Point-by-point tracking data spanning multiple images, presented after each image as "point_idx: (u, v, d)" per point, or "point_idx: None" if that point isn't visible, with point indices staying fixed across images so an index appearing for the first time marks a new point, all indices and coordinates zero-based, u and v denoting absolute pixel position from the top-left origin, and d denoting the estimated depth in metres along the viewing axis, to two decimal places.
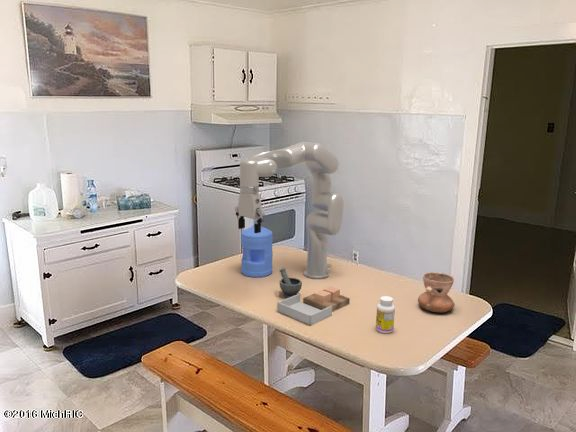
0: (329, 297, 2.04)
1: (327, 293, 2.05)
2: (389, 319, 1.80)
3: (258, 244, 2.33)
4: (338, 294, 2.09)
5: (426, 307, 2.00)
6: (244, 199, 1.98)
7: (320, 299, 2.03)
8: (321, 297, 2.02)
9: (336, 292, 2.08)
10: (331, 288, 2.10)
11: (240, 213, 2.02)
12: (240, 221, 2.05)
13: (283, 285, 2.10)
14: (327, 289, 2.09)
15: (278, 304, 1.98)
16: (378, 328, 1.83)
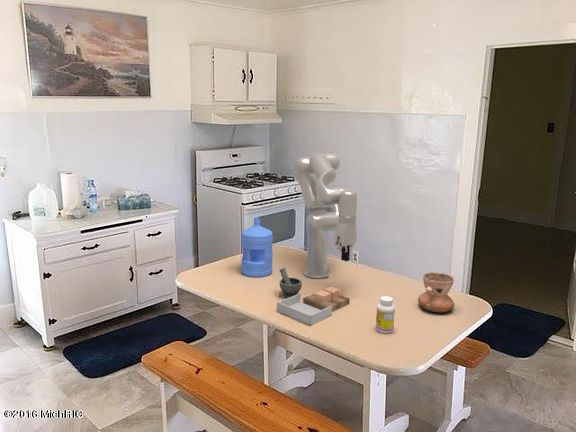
0: (329, 297, 2.04)
1: (327, 293, 2.05)
2: (389, 319, 1.80)
3: (258, 244, 2.33)
4: (338, 294, 2.09)
5: (426, 307, 2.00)
6: (351, 228, 2.07)
7: (320, 299, 2.03)
8: (321, 297, 2.02)
9: (336, 292, 2.08)
10: (331, 288, 2.10)
11: (345, 244, 2.07)
12: None
13: (283, 285, 2.10)
14: (327, 289, 2.09)
15: (278, 304, 1.98)
16: (378, 328, 1.83)
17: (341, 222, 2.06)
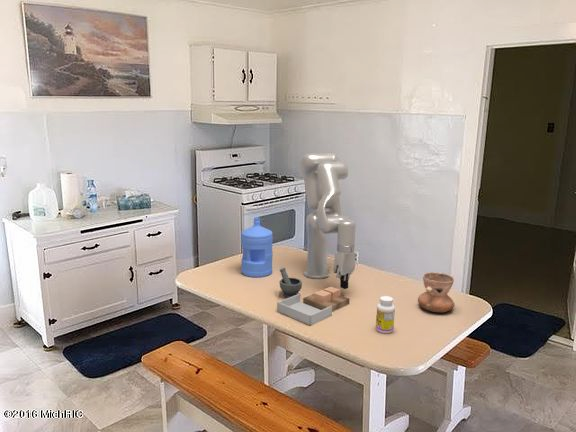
0: (329, 297, 2.04)
1: (327, 293, 2.05)
2: (389, 319, 1.80)
3: (258, 244, 2.33)
4: (338, 294, 2.09)
5: (426, 307, 2.00)
6: (349, 257, 2.10)
7: (320, 299, 2.03)
8: (321, 297, 2.02)
9: (336, 292, 2.08)
10: (331, 288, 2.10)
11: (344, 273, 2.10)
12: None
13: (283, 285, 2.10)
14: (327, 289, 2.09)
15: (278, 304, 1.98)
16: (378, 328, 1.83)
17: (340, 251, 2.09)
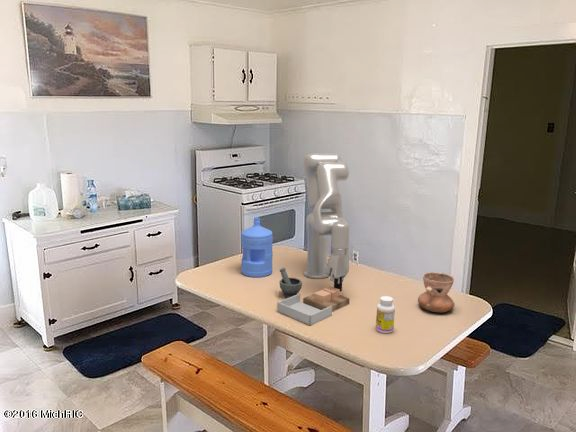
0: (329, 297, 2.04)
1: (327, 293, 2.05)
2: (389, 319, 1.80)
3: (258, 244, 2.33)
4: (338, 294, 2.09)
5: (426, 307, 2.00)
6: (343, 259, 2.07)
7: (320, 299, 2.03)
8: (321, 297, 2.02)
9: (336, 292, 2.07)
10: (331, 288, 2.10)
11: (337, 275, 2.07)
12: None
13: (283, 285, 2.10)
14: (327, 289, 2.09)
15: (278, 304, 1.98)
16: (378, 328, 1.83)
17: (333, 254, 2.06)
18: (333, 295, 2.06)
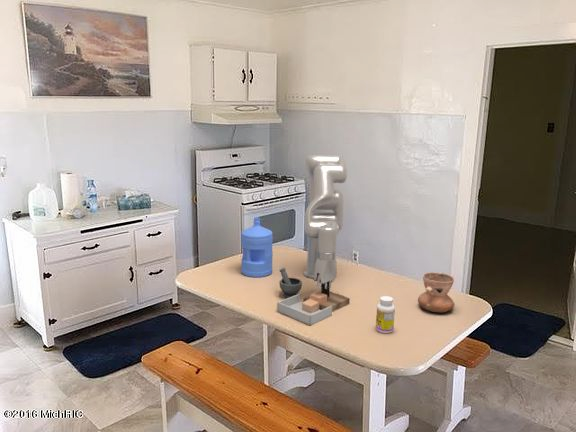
0: (317, 306, 1.99)
1: (315, 302, 1.99)
2: (389, 319, 1.80)
3: (258, 244, 2.33)
4: (325, 300, 2.03)
5: (426, 307, 2.00)
6: (330, 264, 2.01)
7: (307, 309, 1.98)
8: (309, 307, 1.97)
9: (323, 297, 2.01)
10: (318, 293, 2.04)
11: (324, 281, 2.01)
12: None
13: (283, 285, 2.10)
14: (314, 295, 2.03)
15: (278, 304, 1.98)
16: (378, 328, 1.83)
17: (320, 258, 2.00)
18: (320, 301, 2.00)
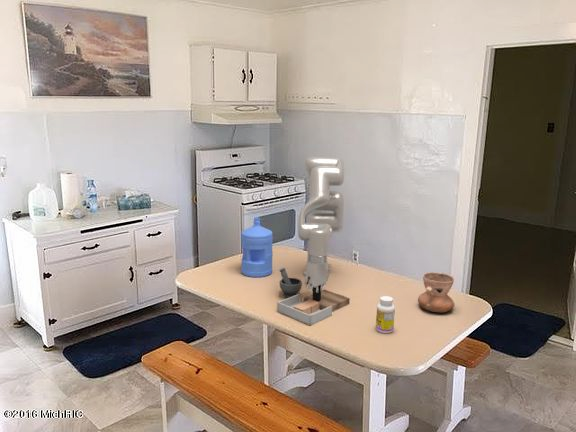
0: (309, 310, 1.96)
1: (307, 306, 1.96)
2: (389, 319, 1.80)
3: (258, 244, 2.33)
4: (317, 307, 2.00)
5: (426, 307, 2.00)
6: (322, 267, 1.97)
7: None
8: None
9: (315, 305, 1.98)
10: (310, 301, 2.01)
11: (316, 284, 1.97)
12: None
13: (283, 285, 2.10)
14: (306, 303, 1.99)
15: (278, 304, 1.98)
16: (378, 328, 1.83)
17: (311, 262, 1.96)
18: (313, 309, 1.97)
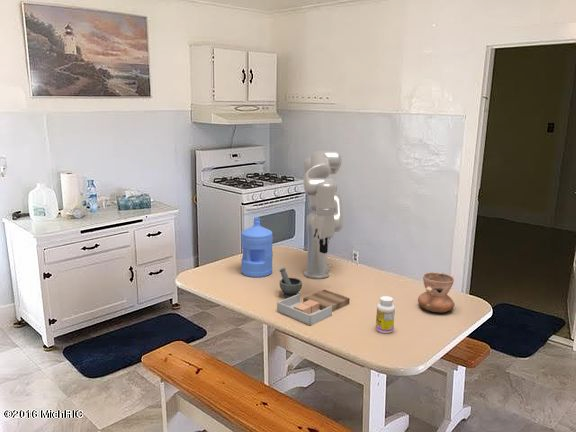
0: (309, 310, 1.96)
1: (307, 306, 1.96)
2: (389, 319, 1.80)
3: (258, 244, 2.33)
4: (317, 308, 2.00)
5: (426, 307, 2.00)
6: (329, 220, 2.04)
7: None
8: None
9: (316, 305, 1.98)
10: (310, 301, 2.01)
11: (323, 236, 2.04)
12: None
13: (283, 285, 2.10)
14: (306, 303, 2.00)
15: (278, 304, 1.98)
16: (378, 328, 1.83)
17: (319, 214, 2.03)
18: (313, 309, 1.97)
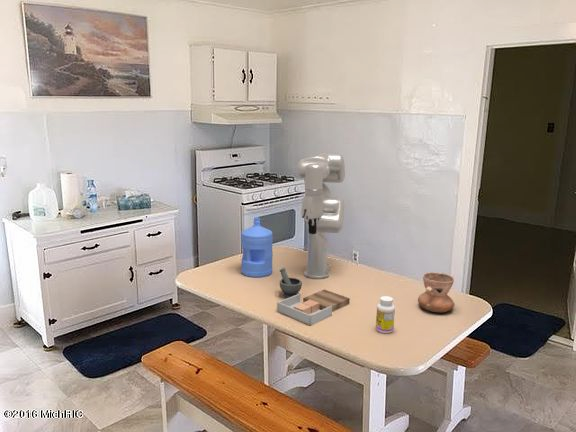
0: (309, 310, 1.96)
1: (307, 306, 1.96)
2: (389, 319, 1.80)
3: (258, 244, 2.33)
4: (317, 308, 2.00)
5: (426, 307, 2.00)
6: (317, 201, 2.10)
7: None
8: None
9: (316, 305, 1.98)
10: (310, 301, 2.01)
11: (311, 217, 2.10)
12: None
13: (283, 285, 2.10)
14: (306, 303, 2.00)
15: (278, 304, 1.98)
16: (378, 328, 1.83)
17: (307, 195, 2.09)
18: (313, 309, 1.97)
